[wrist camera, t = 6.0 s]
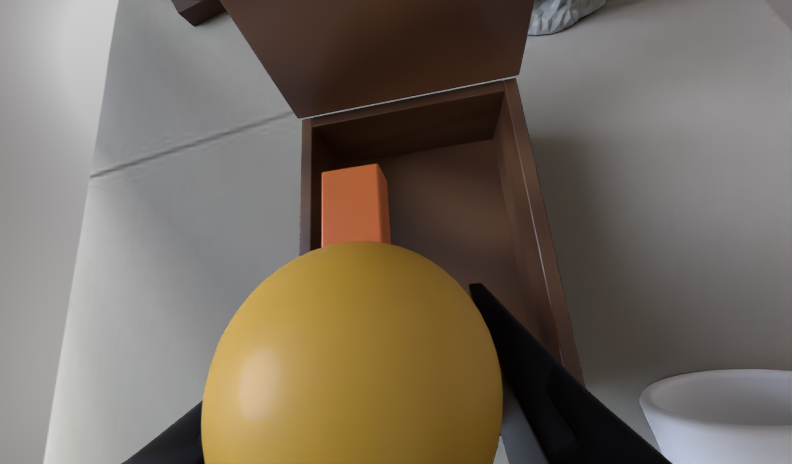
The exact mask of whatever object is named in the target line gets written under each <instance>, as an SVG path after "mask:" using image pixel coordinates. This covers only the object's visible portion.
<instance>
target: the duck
mask: <svg viewBox="0 0 792 464" xmlns="http://www.w3.org/2000/svg"><path fill="white" fill-rule="evenodd" d="M502 407H503V390H502V379H501V371H500V366H499V362H498V357H497V352H496V349H495V346H494V343H493V340H492V338H491V335H490V332H489V330H488V328H487V326H486V324H485V322H484V320H483V317H482V315H481V313H480V312H479V310H478V309H477V307H476V306H475V304H474V303H473V301H472V300H471V298H470V297H469V295H468V294H467V293H466V292H465V291H464V289H463V288H462V287H461V286H460V285H459V284H458V282H457V281H455V280H454V279H453V278H452V277H451V276H450V275H449V274H448V273H447V272H446V271H445V270H443V269H442V268H440V267H439V266H438V265H436V264H435V263H433V262H432V261H431V260H429V259H427V258H425V257H423V256H421V255H419V254H418V253H416V252H413V251H411V250H408V249H405V248H402V247H400V246H396V245H391V236H390V221H389V205H388V190H387V180H386V178H385V176H384V174H383V172H382V170H381V169H380V167H379V165H378V164H370V165H363V166H357V167H351V168H345V169H339V170H332V171H326V172H323V173H322V236H321V248H319V249H316V250H313V251H310V252H308V253H306V254H304V255H301V256H299V257H297V258H295V259H294V260H292V261H290V262H289V263H287V264H286V265H284V266H282V267H281V268H280V269H278V270H277V271H275V272H274V273H273V274H272V275H270V276H269V277H268V278H267V279H265V280H264V281H263V282H262V283H261V284H260V285H259V286H258V287H257V288H256V289H255V290H254V291H253V292H252V293H251V294H250V295H249V297H248V298H247V299H246V300H245V302H244V303H243V304H242V305H241V307H240V308H239V309H238V311H237V312H236V314H235V315H234V317H233V318H232V320H231V321H230V323H229V325H228V326H227V328H226V329H225V331H224V333H223V336H222V338H221V340H220V342H219V344H218V346H217V349H216V351H215V354H214V357H213V359H212V362H211V366H210V370H209V374H208V377H207V381H206V385H205V390H204V397H203V403H202V418H201V432H202V447H203V453H204V460H205V464H493V461H494V458H495V454H496V451H497V448H498V442H499V435H500V429H501V423H502Z"/></svg>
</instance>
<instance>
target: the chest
mask: <svg viewBox="0 0 792 464" xmlns="http://www.w3.org/2000/svg"><path fill="white" fill-rule="evenodd" d="M370 164H378V165H379V167H380V169H381V170H382V172H383V174H384V176H385V178H386V180H387V190H388V205H389V221H390V236H391V245H396V246H400V247H402V248H405V249H408V250H411V251H413V252H416V253H418V254H419V255H421V256H423V257H425V258H427V259H429V260H431V261H432V262H433V263H435V264H436V265H438V266H439V267H440V268H442V269H443V270H445V271H446V272H447V273H448V274H449V275H450V276H451V277H452V278H453V279H454V280H455V281H457V282H458V284H459V285H460V286H461V287H462V288H463V289H464V291H465V292H466V293H467V294H468V295H469V289H468V285H469V284H470V283H482V284H483V285H484V286H485V287H486V288H487V289H488V290H489V291H490V292H491V293H492V294H493V295H494V296H495V297H496V298H497V299H498V300H499V301H500V302H501V303H502V304H503V305H504V306H505V307H506V308H507V309H508V310H509V311H510V312H511V313H512V314H513V316H514V317H515V318H516V319H517V320H518V321H519V322H520V323H521V324H522V325H523V326H524V327H525V328H526V329H527V330H528V331H529V332H530V333H531V334H532V335H533V336H534V337H535V338H536V339H537V340H538V341H539V342H540V343H541V344H542V345H543V346H544V347H545V348H546V349H547V350H548V351H549V352H550V353H551V354H552V355H553V356H554V357H555V358H556V361H558V362H560V363H561V364H562V366H563V367H564V368H565V369H566V370H567V371H568V372H569V373H570V374H571V375H572V376H573V377H574V378H575V379H576V380H577V381H578V382H580V383H581V384H582V385H583V386H584V387H585V385H584V380H583V376H582V371H581V367H580V362H579V358H578V353H577V349H576V344H575V340H574V335H573V331H572V326H571V322H570V317H569V313H568V309H567V304H566V300H565V295H564V291H563V286H562V282H561V277H560V273H559V268H558V264H557V259H556V255H555V250H554V246H553V241H552V237H551V233H550V228H549V224H548V219H547V215H546V210H545V206H544V201H543V197H542V192H541V188H540V183H539V179H538V174H537V170H536V166H535V161H534V157H533V152H532V148H531V143H530V139H529V134H528V130H527V125H526V121H525V116H524V112H523V107H522V103H521V98H520V94H519V90H518V85H517V81H516V78H512V79H507V80H504V81H502V80H501V81H496V82H491V83H486V84H481V85H476V86H471V87H466V88H461V89H456V90H451V91H445V92H440V93H435V94H430V95H425V96H420V97H415V98H410V99H405V100H400V101H395V102H390V103H385V104H379V105H374V106H369V107H364V108H359V109H354V110H349V111H344V112H339V113H334V114H329V115H324V116H319V117H313V119H312V118H309V119H304V120H302V158H301V205H300V251H299V256H301V255H304V254H306V253H308V252H310V251H313V250H316V249H319V248H321V236H322V173H323V172H326V171H332V170H339V169H345V168H351V167H357V166H363V165H370ZM499 436H501V433H500V435H499Z"/></svg>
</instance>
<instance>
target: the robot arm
mask: <svg viewBox="0 0 792 464" xmlns="http://www.w3.org/2000/svg"><path fill="white" fill-rule="evenodd" d="M468 289H469V297H470V298H471V300H472V301H473V303H474V304H475V306H476V307H477V309H478V310H479V312H480V313H481V315H482V317H483V320H484V322H485V324H486V326H487V328H488V330H489V332H490V335H491V338H492V340H493V343H494V346H495V349H496V352H497V357H498V362H499V366H500V371H501V379H502V390H503V407H502V423H501V429H500V433H501V436H502V439H503V443H504V446H505V450H506V453H507V457H508V460H509V463H510V464H672V463H671V462H670V461H669V460H668V459H666V458H665V457H664V456H663V455H662V454H661V453H659V452H658V451H657V450H656V449H655V448H654V447H652V446H651V445H650V444H649V443H648V442H647V441H645V440H644V439H643V438H642V437H641V436H640V435H638V434H637V433H636V432H635V431H634V430H633V429H631V428H630V427H629V426H628V425H627V424H626V423H624V422H623V421H622V420H621V419H620V418H619V417H617V416H616V415H615V414H614V413H613V412H612V411H610V410H609V409H608V408H607V407H606V406H605V405H604V404H602V403H601V402H600V401H599V400H598V399H597V398H596V397H595V396H593V395H592V394H591V393H590V392H589V391H588V390H587V389H586V388H585V387H584V386H583V385H582V384H581V383H580V382H578V381H577V380H576V379H575V378H574V377H573V376H572V375H571V374H570V373H569V372H568V371H567V370H566V369H565V368H564V367H563V366H562V364H561V363H560V362H558V361H556V358H555V357H554V356H553V355H552V354H551V353H550V352H549V351H548V350H547V349H546V348H545V347H544V346H543V345H542V344H541V343H540V342H539V341H538V340H537V339H536V338H535V337H534V336H533V335H532V334H531V333H530V332H529V331H528V330H527V329H526V328H525V327H524V326H523V325H522V324H521V323H520V322H519V321H518V320H517V319H516V318H515V317H514V316H513V314H512V313H511V312H510V311H509V310H508V309H507V308H506V307H505V306H504V305H503V304H502V303H501V302H500V301H499V300H498V299H497V298H496V297H495V296H494V295H493V294H492V293H491V292H490V291H489V290H488V289H487V288H486V287H485V286H484V285H483V284H482V283H470V284H469V285H468ZM202 403H203V400H202V401H201V402H200V403H199V404H198V405H196V406H195V407H194V408H193V409H191V410H190V411H189V412H188V413H187V414H185V415H184V416H183V417H181V418H180V419H179V420H178V421H176V422H175V423H174V424H173V425H171V426H170V427H169V428H168V429H166V430H165V431H164V432H163V433H161V434H160V435H159V436H157V437H156V438H155V439H154V440H152V441H151V442H150V443H149V444H147V445H146V446H145V447H144V448H142V449H141V450H140V451H139V452H137V453H136V454H135V455H133V456H132V457H131V458H129V459H128V460H126V461H125V462H123V463H122V464H205V460H204V453H203V447H202V432H201V418H202Z"/></svg>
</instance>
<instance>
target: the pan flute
mask: <svg viewBox="0 0 792 464" xmlns="http://www.w3.org/2000/svg"><path fill="white" fill-rule="evenodd" d="M171 1H172V3H173V4H174V6H175V8H176V10H177V11H178V13H179V14H180V15H181V16H182V17H184V18H185V19H186V20H187V21H188V22H189V23H190V24H192V25H193V26H195V25H197V24H199V23H201V22H203V21H204V20H206V19H208V18H210V17H212V16H214V15H216V14H218V13H220V12H222V11H224V10H226V9H225V7H224V6H223V4H222V3H221V1H220V0H171Z"/></svg>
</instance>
